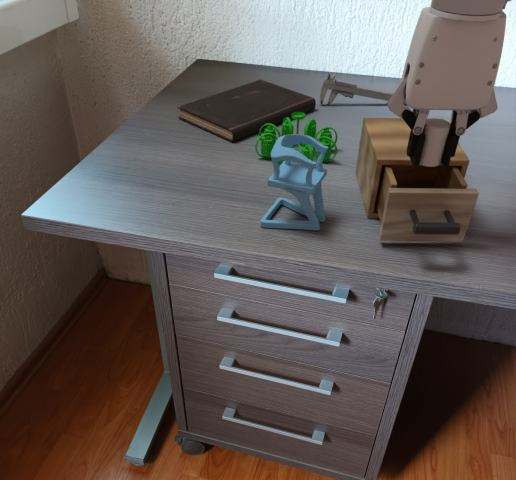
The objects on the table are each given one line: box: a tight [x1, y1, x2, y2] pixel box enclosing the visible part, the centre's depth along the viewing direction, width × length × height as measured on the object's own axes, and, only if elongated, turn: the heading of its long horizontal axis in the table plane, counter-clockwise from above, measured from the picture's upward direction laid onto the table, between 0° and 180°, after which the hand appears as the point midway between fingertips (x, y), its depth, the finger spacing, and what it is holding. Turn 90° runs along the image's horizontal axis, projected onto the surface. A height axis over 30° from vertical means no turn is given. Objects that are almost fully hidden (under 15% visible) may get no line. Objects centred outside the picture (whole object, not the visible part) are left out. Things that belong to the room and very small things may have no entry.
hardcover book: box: [177, 79, 317, 143], centre depth 105 cm, size 16×23×2 cm
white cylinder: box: [419, 117, 450, 167], centre depth 68 cm, size 3×3×5 cm
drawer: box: [375, 165, 480, 243], centre depth 72 cm, size 18×11×7 cm, turn 179°
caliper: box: [319, 72, 408, 107], centre depth 108 cm, size 20×1×6 cm, turn 93°
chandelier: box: [254, 112, 338, 167], centre depth 91 cm, size 15×15×7 cm
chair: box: [260, 133, 328, 231], centre depth 73 cm, size 8×8×12 cm
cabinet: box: [355, 117, 471, 219], centre depth 80 cm, size 15×13×9 cm
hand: (428, 160), depth 69 cm, fingers closed on white cylinder, 3 cm apart
